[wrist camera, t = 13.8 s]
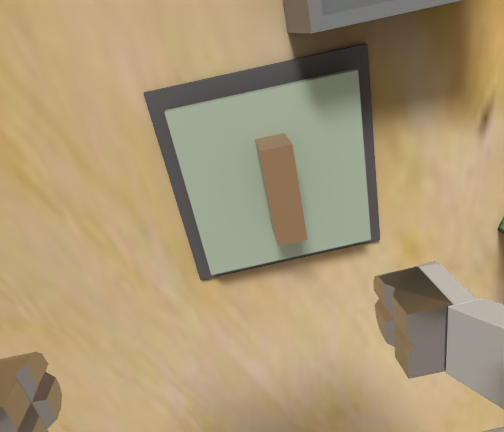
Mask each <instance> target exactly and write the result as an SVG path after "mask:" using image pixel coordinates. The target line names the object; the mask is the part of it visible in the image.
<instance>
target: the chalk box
mask: <svg viewBox="0 0 504 432" xmlns="http://www.w3.org/2000/svg"><path fill="white" fill-rule="evenodd" d="M498 230H499V231H501V232H502V233H504V219H503V220H502V223H501V224H500V226H499V227H498Z"/></svg>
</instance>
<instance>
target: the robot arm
mask: <svg viewBox="0 0 504 432" xmlns="http://www.w3.org/2000/svg"><path fill="white" fill-rule="evenodd" d="M374 291H375V293H376V294H377V296H378V297H379V300H378V301H377V303H376V304H375V311H376V318H377V322H378V326H379V329H380V331H381V333H382V335H383V337H384V339H385V341H386V342H387V343H388V344H390V345H392V346H394V347H395V357H396V359H397V360H398V362H399V364H400V365H401V367H402V369H403V370H404V372H405V373H406V375H407V377H408V378H414V377H419V376H424V375H429V374H434V373H439V372H444V371H446V373H447V374H448V375H450V376H452V377H453V378H455V379H456V380H458V381H460V382H461V383H463V384H464V385H466V386H467V387H469V388H471V389H472V390H474V391H475V392H477V393H479V394H480V395H482V396H483V397H485V398H487V399H488V400H490V401H491V402H493V403H495V404H496V405H498V406H499V407H501V408H503V409H504V304H501V303H498V302H495V301H492V300H489V299H486V298H483V299H477V298H476V297H475V296H474V295H473V294H472V293H471V292H470V291H469V290H468V289H466V288H465V287H464V286H463V285H462V284H461V283H460V282H459V281H458V280H457V279H456V278H455V277H454V276H453V275H452V274H450V273H449V272H448V271H447V270H446V269H445V268H444V267H443V266H442V265H441V264H440V263H438V262H435V261H433V262H430V263H426V264H422V265H418V266H415V267H413V268H408V269H404V270H400V271H395V272H391V273H386V274H382V275H378V276H375V277H374ZM47 366H48V363H47V361H46V359H45V358H44V356H43V354H42V353H38V352H33V353H28V354H23V355H18V356H13V357H8V358H3V359H0V432H48V428H49V427H50V426H51V425H52V424H53V423H54V422H55V420H56V419H57V418H58V415H59V412H60V409H61V402H62V393H61V389H60V385H59V383H58V381H57V379H56V377H54V376H52V375H50V374H48V373H46V369H47ZM483 432H504V427H500V428H496V429H492V430H488V431H483Z"/></svg>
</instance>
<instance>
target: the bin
mask: <svg viewBox="0 0 504 432" xmlns="http://www.w3.org/2000/svg"><path fill="white" fill-rule="evenodd" d="M457 1H462V0H283V4H284V11H285V18H286V25H287V32H288V33H311V34H312V33H316V32H321V31H325V30H330V29H334V28H339V27H343V26H348V25H352V24H357V23H362V22H366V21H371V20H375V19H380V18H384V17H389V16H393V15H398V14H402V13H407V12H412V11H416V10H421V9H425V8H430V7H434V6H439V5H443V4H448V3H452V2H457Z"/></svg>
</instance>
